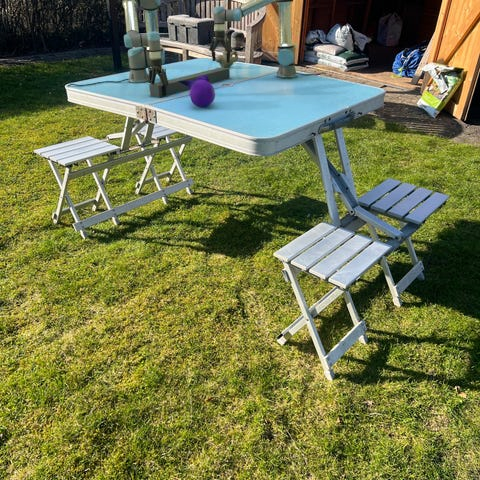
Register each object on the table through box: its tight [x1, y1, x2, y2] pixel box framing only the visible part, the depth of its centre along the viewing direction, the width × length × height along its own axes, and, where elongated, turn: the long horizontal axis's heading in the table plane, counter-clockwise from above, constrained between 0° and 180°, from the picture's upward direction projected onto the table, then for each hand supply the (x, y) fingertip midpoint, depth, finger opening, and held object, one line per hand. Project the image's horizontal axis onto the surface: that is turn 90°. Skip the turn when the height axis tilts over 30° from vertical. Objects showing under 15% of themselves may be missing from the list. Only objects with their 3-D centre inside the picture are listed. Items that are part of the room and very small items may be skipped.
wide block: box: [148, 67, 231, 99], centre depth 317 cm, size 74×9×7 cm, turn 143°
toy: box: [179, 76, 216, 109], centre depth 267 cm, size 16×18×27 cm
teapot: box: [215, 48, 239, 69], centre depth 378 cm, size 21×12×15 cm, turn 120°
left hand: (159, 95), depth 296 cm, fingers closed on wide block, 9 cm apart
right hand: (221, 61), depth 335 cm, fingers open, 13 cm apart
